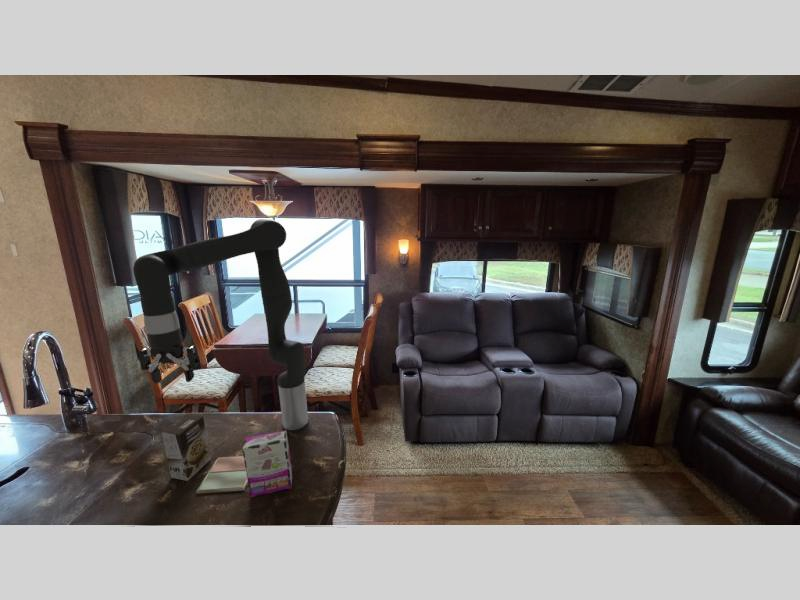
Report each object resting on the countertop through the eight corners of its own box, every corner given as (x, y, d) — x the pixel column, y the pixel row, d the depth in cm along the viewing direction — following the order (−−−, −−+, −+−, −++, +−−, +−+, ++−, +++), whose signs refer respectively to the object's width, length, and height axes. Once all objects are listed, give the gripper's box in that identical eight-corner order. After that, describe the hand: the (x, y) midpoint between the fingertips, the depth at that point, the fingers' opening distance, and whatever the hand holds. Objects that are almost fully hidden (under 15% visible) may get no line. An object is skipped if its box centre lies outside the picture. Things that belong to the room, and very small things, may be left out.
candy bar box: (292, 475, 95) (287, 429, 90) (291, 488, 90) (286, 440, 86) (252, 484, 92) (245, 436, 87) (249, 498, 87) (241, 448, 83)
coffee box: (188, 481, 93) (178, 435, 89) (170, 478, 94) (159, 432, 90) (212, 459, 101) (204, 415, 97) (195, 456, 103) (186, 413, 98)
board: (218, 459, 101) (218, 457, 101) (259, 456, 102) (259, 454, 102) (196, 493, 88) (196, 490, 88) (244, 490, 90) (243, 487, 89)
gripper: (197, 323, 90) (206, 374, 94) (145, 324, 89) (156, 376, 93) (182, 332, 83) (192, 387, 87) (125, 334, 82) (138, 389, 86)
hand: (174, 381), depth 90 cm, fingers open, 8 cm apart
